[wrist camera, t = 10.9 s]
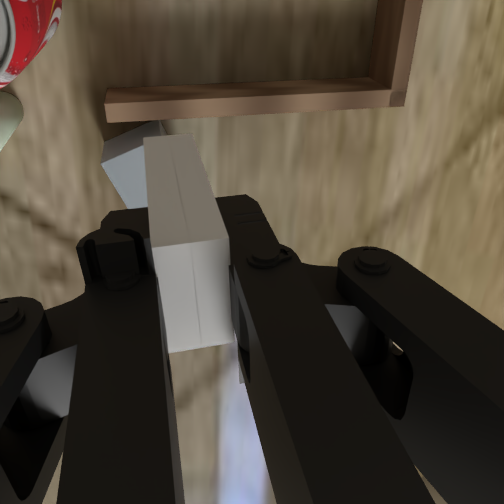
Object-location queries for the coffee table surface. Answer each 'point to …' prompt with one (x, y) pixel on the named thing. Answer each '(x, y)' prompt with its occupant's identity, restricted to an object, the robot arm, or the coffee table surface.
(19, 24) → the soda can
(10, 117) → the gate post
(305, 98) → the wooden open tray
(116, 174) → the slate cube
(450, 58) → the coffee table surface
